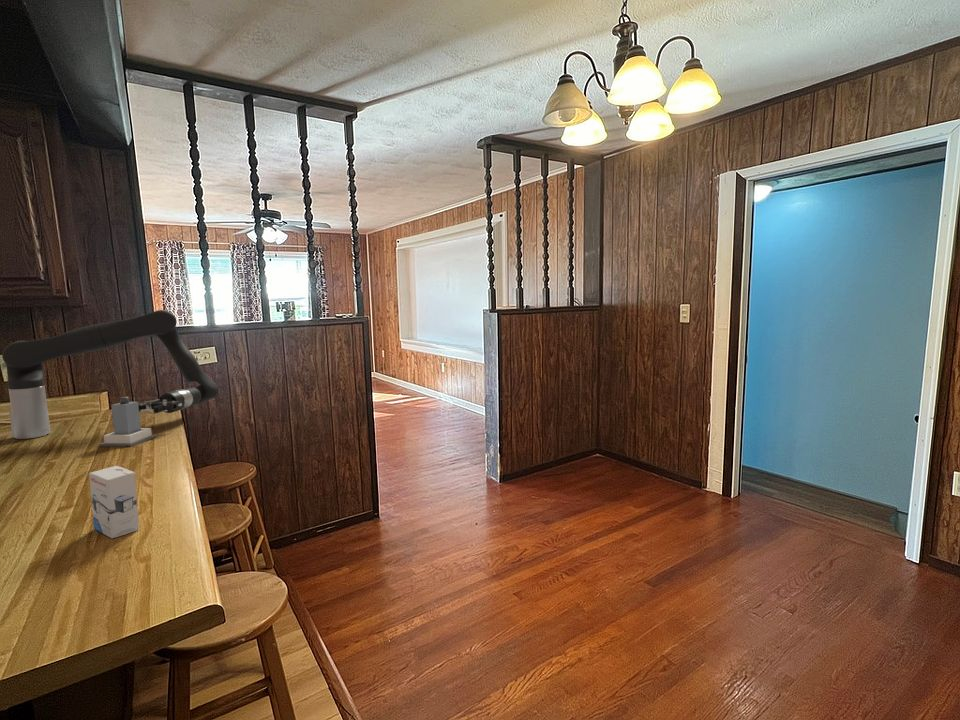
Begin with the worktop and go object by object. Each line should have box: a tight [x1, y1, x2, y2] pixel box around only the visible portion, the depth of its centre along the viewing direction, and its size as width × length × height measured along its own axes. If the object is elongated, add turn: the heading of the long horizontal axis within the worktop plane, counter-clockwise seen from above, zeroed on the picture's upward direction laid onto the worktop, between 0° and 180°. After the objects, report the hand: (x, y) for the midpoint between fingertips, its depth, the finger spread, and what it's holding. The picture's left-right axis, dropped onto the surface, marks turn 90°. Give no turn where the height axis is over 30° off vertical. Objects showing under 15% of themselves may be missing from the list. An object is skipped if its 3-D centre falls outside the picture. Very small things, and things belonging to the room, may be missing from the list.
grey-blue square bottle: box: [110, 396, 142, 435], centre depth 160 cm, size 5×5×14 cm
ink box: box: [88, 465, 140, 539], centre depth 97 cm, size 9×5×12 cm, turn 58°
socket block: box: [98, 427, 158, 447], centre depth 161 cm, size 11×11×3 cm
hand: (142, 410), depth 167 cm, fingers open, 8 cm apart
